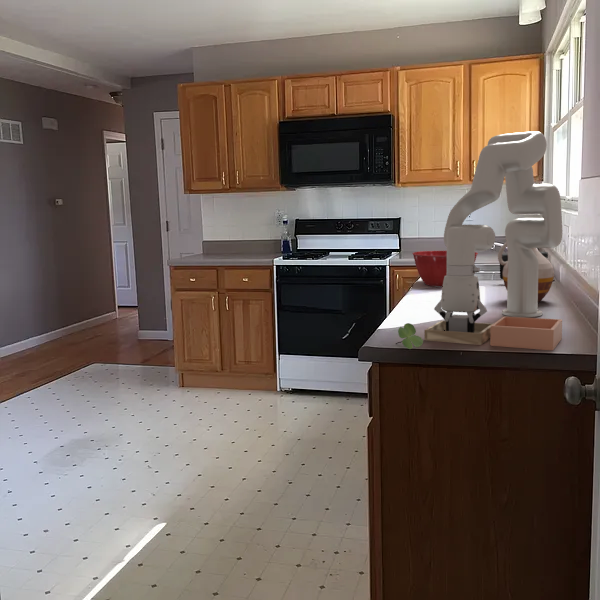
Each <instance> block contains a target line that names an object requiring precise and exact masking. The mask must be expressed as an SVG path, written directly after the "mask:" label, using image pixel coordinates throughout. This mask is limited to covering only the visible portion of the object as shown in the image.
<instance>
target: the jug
mask: <svg viewBox="0 0 600 600" xmlns="http://www.w3.org/2000/svg"><path fill="white" fill-rule="evenodd" d="M505 249H507V243H506V242H504V243H503V245H501V246H500V248H499V251H498V253H497V261H498V263H499V265H500V264H501V265H504V268H503V279H502V280H503V284H504V287H505V289H506V291H507V283H508V261H506V262H504V261H503V260H502V254H504V251H505ZM531 249H532V250H533V252H534V253H535V255H536V256H537V259H538V263H539V266H538V303H541V301H543V299H544V298H545V297H546V296H547V295H548V293H549V292H550V289H551V287H552V286H553V282H554V277H555V270H554V266H553V264H552V263H551V261H550V260H549V259H548V258H545V257H544V256H543V255H542V254H541V253H540V252H541V251H540V250H538V248H531Z"/></svg>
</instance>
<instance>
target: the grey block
mask: <svg viewBox="0 0 600 600" xmlns="http://www.w3.org/2000/svg"><path fill="white" fill-rule="evenodd" d="M468 323H469V318H468V315H466V314H452V316H450V317H449V331H455V332H468Z"/></svg>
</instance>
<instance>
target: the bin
mask: <svg viewBox="0 0 600 600" xmlns="http://www.w3.org/2000/svg"><path fill="white" fill-rule="evenodd" d="M492 324H493V325H491V336H490V338H489V339H490V343H489V345H490V346H491V347H492V346H493V347H502V348H503V347H505V348H515V349H528V350H529V349H530V350H539V351H540V350H543V351H554V350H555V348H556V347H557V346H558V344H559V343H560V342H561V341H562V339H563V319H558V318H540V317H511V316H506V315H504V316H501V318H500V319H498V320H496V322H494V323H492Z"/></svg>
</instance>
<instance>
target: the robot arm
mask: <svg viewBox="0 0 600 600" xmlns="http://www.w3.org/2000/svg"><path fill="white" fill-rule="evenodd" d="M547 146H548V144H547V139H546V137H545V135H544V134H543V132H540V131H535V130H534V131H524V132H513V133H504V134H502V133H501V134H497V135H494V136H492V137H490V138H489V139H488V142H487V145H485V146H484V147H483V148H482V149H481V151H480V153H479V156H478V161H477V163H476V167H475V171H474V175H473V180H472V183H471V187H470V189H469V190H468V191H467V192H466V193H465V194H464V195H463V196H462V197H461V198H460V199H459V200H458V201H457V202H456V203H455V204H454V206H453V207H452V208H451V210H450V211H449V213H448V216H447V219H446V224H445V227H444V233H443V243H444V245H445V247H446V251H447V275H446V276H444V281H443V287H441V296H440V297H441V299H440V300H439V302H438V303H437V304H436V305H435V307H434V308H433V310H434V311H435V312H436V313H438V314H439V316H440V317H441V318H442V319H443V321H446V331H449V317H450V316H452V315H454V313H466V314H467V315H468V318H469V323H468V332H470V333H474V332H475V323H476V321H477V320H479V318H481V317H482V316H483V315H485V314H486V313H488V309H487V308H486V307H485V305H484V304H483V302H481V292H480V284H479V282H480V281H479V278H478V275H476V273H480V272H481V270H480V269H481V268H480V267H477V266H476V264H475V263H476V260H475V252H486V251H488V250H490V249H492V247H494V245H495V243H496V232H495V230H494V229H493V228H492V227H491V226H489V225H486V224H464V221H465V220H466V219H467V218H468V217H469V216H470V215H471V214H473V213H474V212H475V211H477V210H478V211H479V209H482V208H483V207H485V206H488V205H490V204H492V203H493V202H496V201H497V200H498V199H499V198H500V197H501V193H502V188H503V185H504V180H505V189H506V190H505V192H506V202H507V203H506V204H507V207H508V210H509V212H510V213H511V214H512V215H513V214H514V215H518V216H519V215H520V216H535V215H536V216H537V215H538V216H541V217H519V218H513V219H511V220H510V221H509V222H508V223H507V224H506V226H505V229H504V236H505V243H507V247H506V249H507V253H508V283H507V290H506V291H507V293H506V298H507V299H506V300H507V301H506V308H505V309H502V310H501V314H502V315H504V316H507V317H525V318H538V317H542V315H543V311H542V310H540V309H538V305H539V304H538V266H539V263H538V259H537V256H536V255H535V253H534V252H533V250H532V249H531V248H536V249H554V248H558V246H560V244H561V242H562V240H563V218H562V217H563V216H562V215H563V214H562V200H561V195H560V194H561V193H560V191H559V189H558V188H557V186H556V185H554V184H551V183H540V184H539V183H535V179H534V168H533V166H534V165H535V164H537V163H538V162H539V161H540V160H541V159H542V158H543V157H544V155H545V154H546V151H547V148H548V147H547ZM478 310H479V312H477V313H475V312H476V311H478Z"/></svg>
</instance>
